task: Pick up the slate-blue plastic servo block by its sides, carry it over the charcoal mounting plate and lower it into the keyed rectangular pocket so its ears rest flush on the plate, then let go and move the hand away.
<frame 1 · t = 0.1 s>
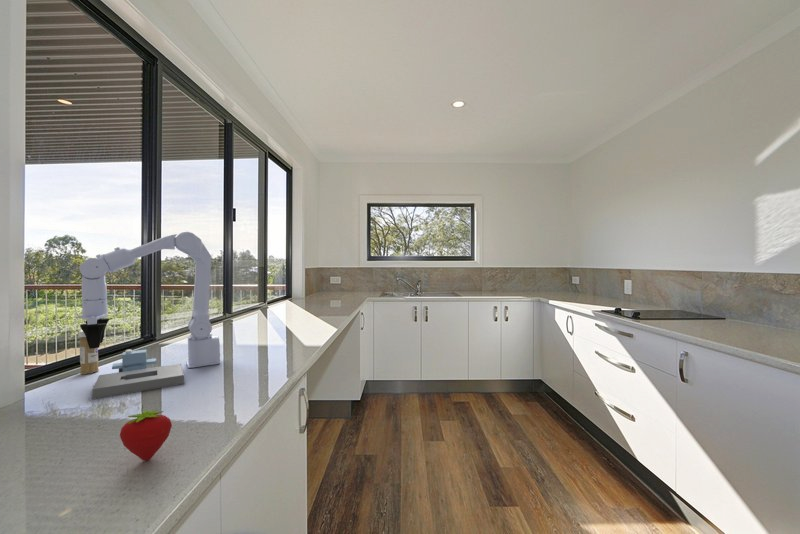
hand: (96, 345, 110), 10 cm above the worktop, tool pointing down, fingers open, 7 cm apart
servo block: (135, 372, 116), on the worktop
mounting plate: (141, 383, 105), on the worktop
sprinkles bottle: (89, 373, 117), on the worktop
strawberry: (147, 461, 65), on the worktop
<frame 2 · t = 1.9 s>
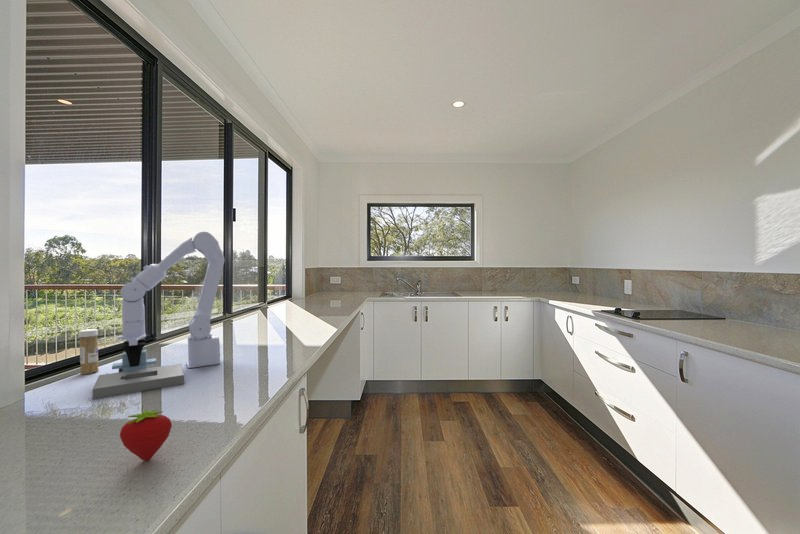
hand: (134, 364, 116), 3 cm above the worktop, tool pointing down, fingers closed on servo block, 4 cm apart
servo block: (135, 372, 116), on the worktop, touching gripper
everything else where it was.
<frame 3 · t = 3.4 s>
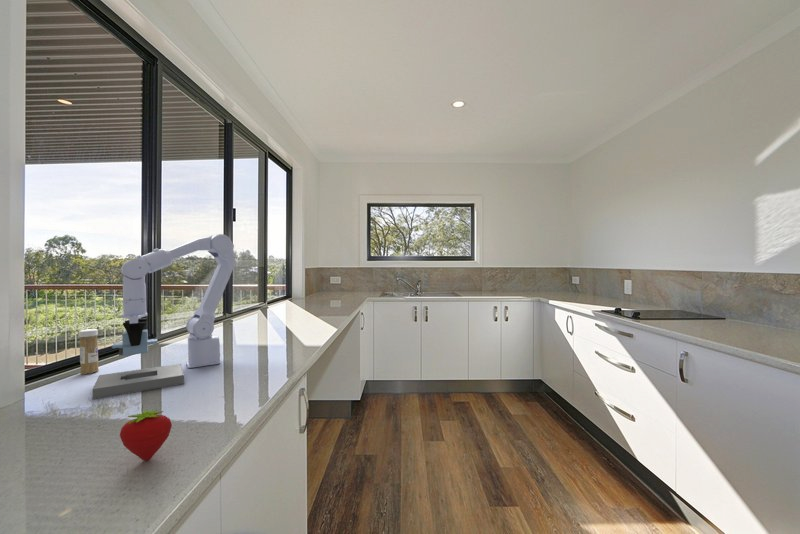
hand: (135, 344, 113), 10 cm above the worktop, tool pointing down, fingers closed on servo block, 4 cm apart
servo block: (135, 352, 113), point 7 cm above the worktop, touching gripper
everything else where it was.
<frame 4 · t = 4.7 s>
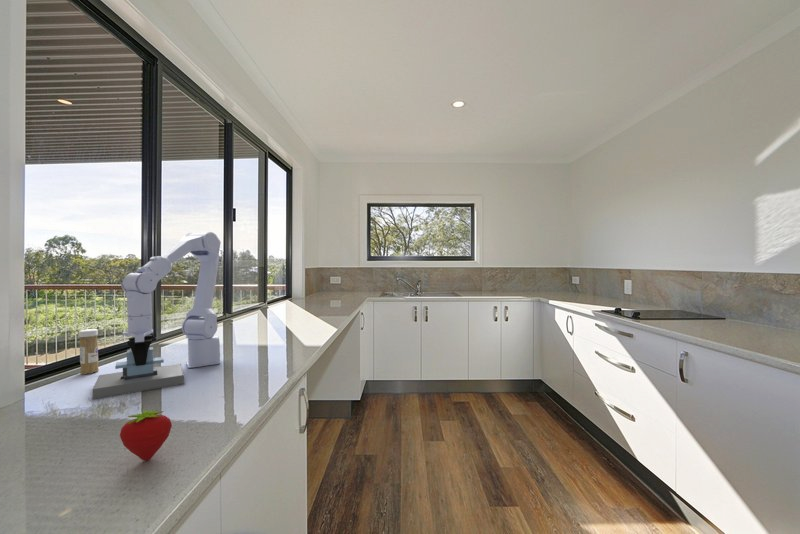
hand: (141, 363, 105), 6 cm above the worktop, tool pointing down, fingers closed on servo block, 4 cm apart
servo block: (140, 372, 105), point 3 cm above the worktop, touching gripper
everything else where it was.
when the fingers open (4 cm above the worktop, at t = 5.4 s): servo block drops 1 cm, resting on mounting plate.
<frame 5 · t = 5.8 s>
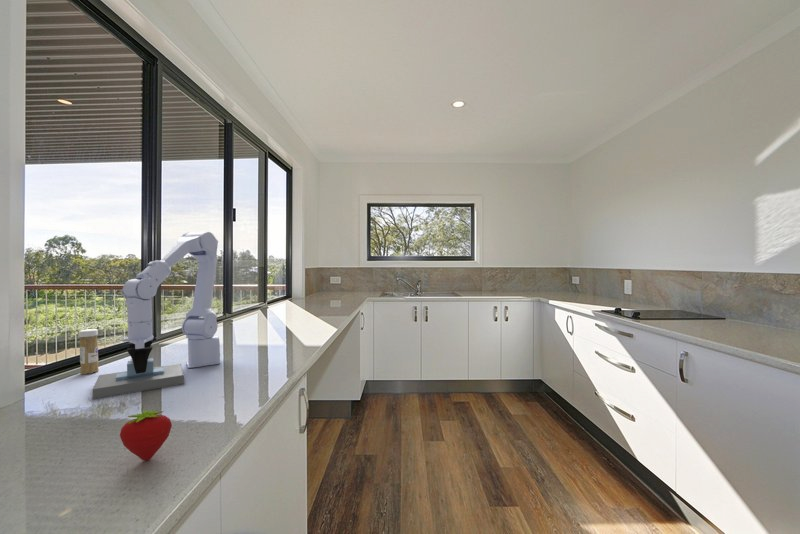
hand: (141, 369, 105), 4 cm above the worktop, tool pointing down, fingers open, 7 cm apart
servo block: (141, 383, 105), resting on mounting plate
everything else where it was.
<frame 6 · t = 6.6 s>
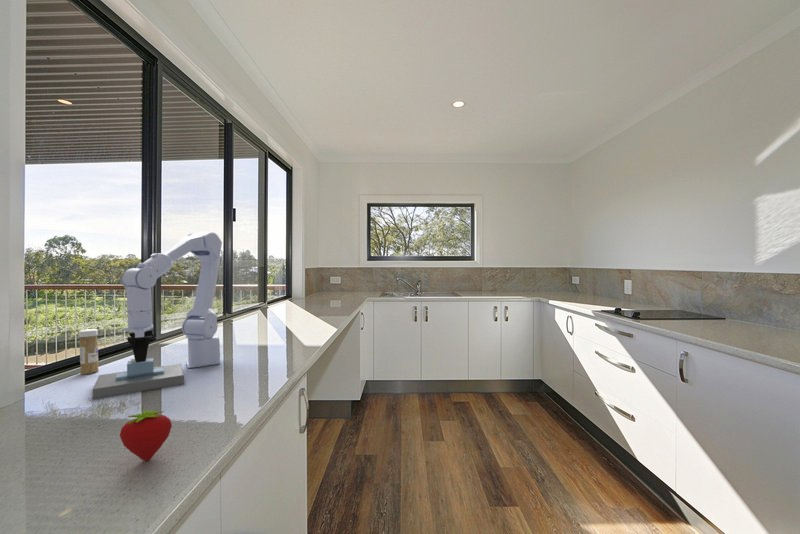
hand: (141, 358, 105), 7 cm above the worktop, tool pointing down, fingers open, 7 cm apart
nothing on the worktop moved.
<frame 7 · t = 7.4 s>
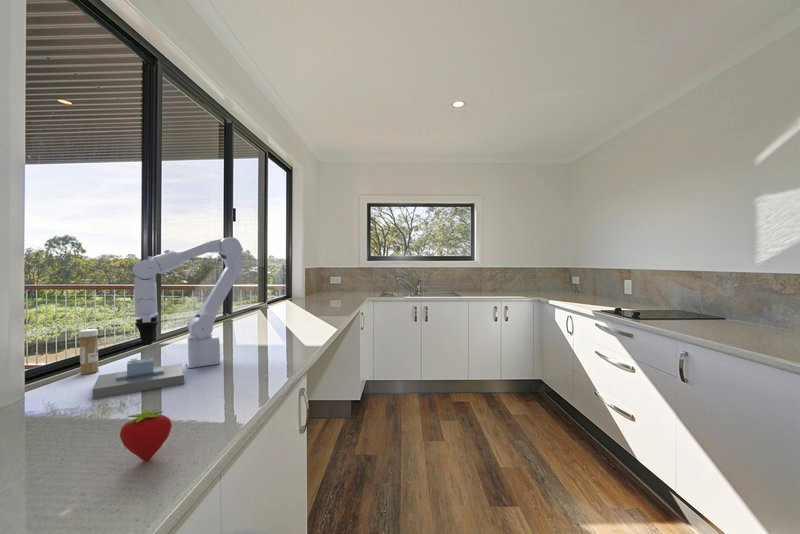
hand: (147, 342, 116), 9 cm above the worktop, tool pointing down, fingers open, 7 cm apart
nothing on the worktop moved.
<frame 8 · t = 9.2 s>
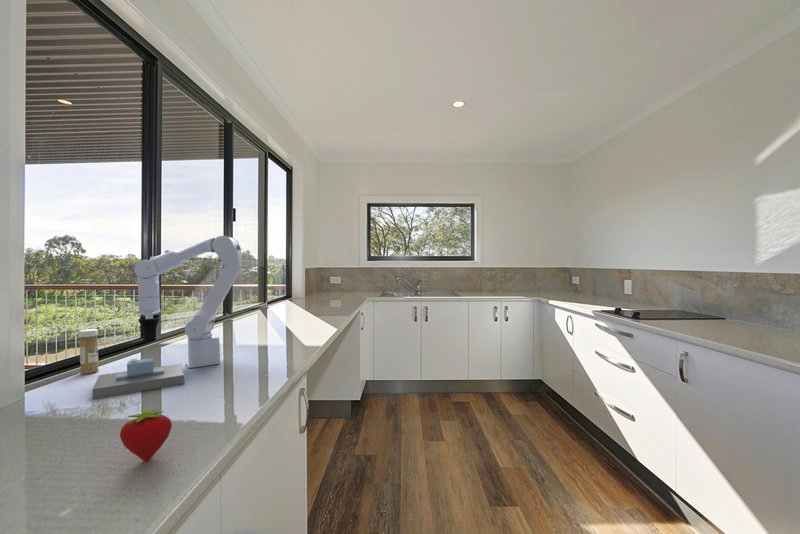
hand: (150, 338, 122), 9 cm above the worktop, tool pointing down, fingers open, 7 cm apart
nothing on the worktop moved.
at the end: servo block 0.1 cm off-centre on the mounting plate, point 0.0 cm above the mounting plate's base; servo block tilted 0°; the gripper is holding nothing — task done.
